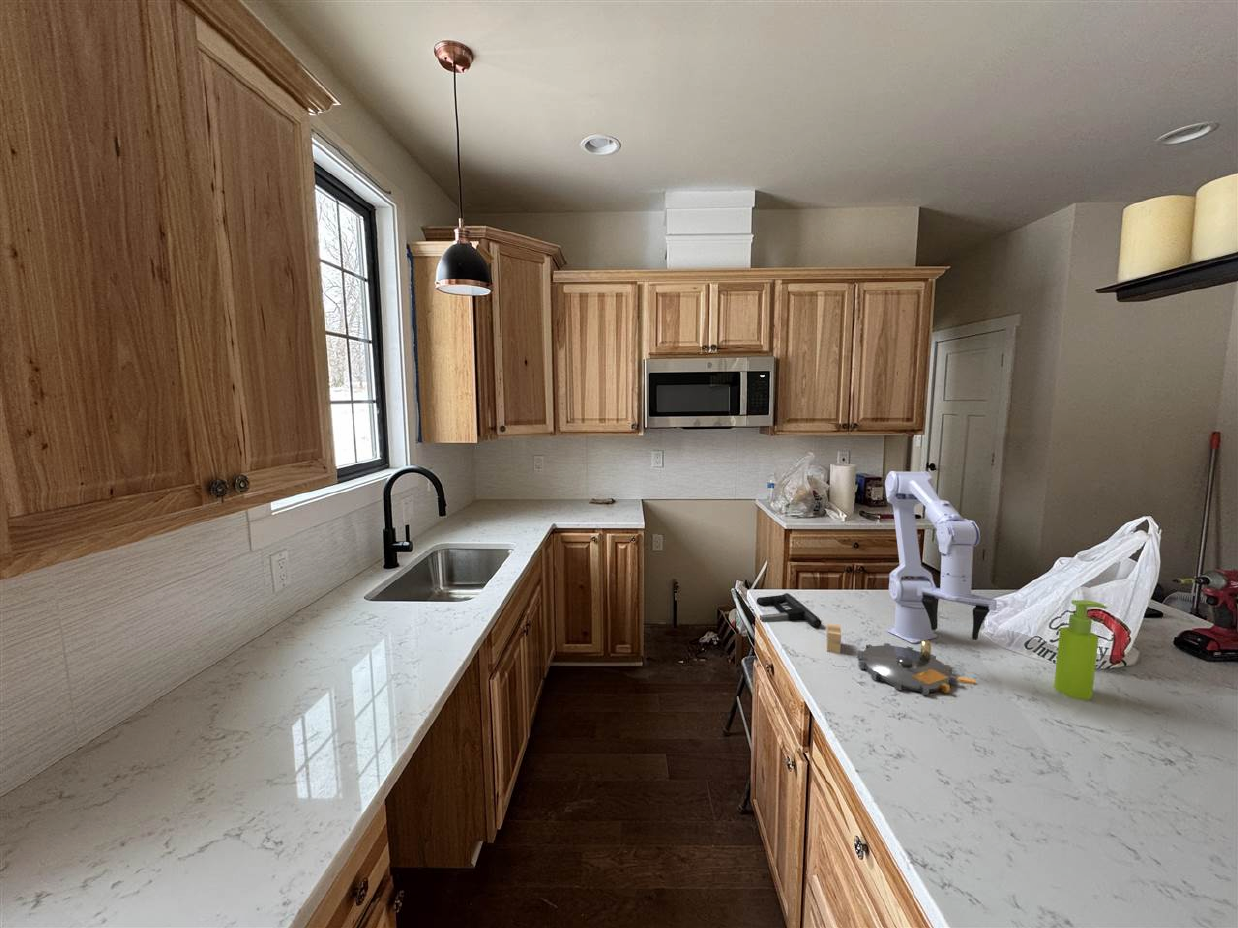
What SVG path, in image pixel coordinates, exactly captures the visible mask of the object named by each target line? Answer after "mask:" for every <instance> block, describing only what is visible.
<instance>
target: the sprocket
mask: <svg viewBox="0 0 1238 928" xmlns="http://www.w3.org/2000/svg"><path fill="white" fill-rule="evenodd" d="M931 652H932V641H931V640H929V639H928V640H921V643H920V651H918V650H915V649H914V647H913V646H912V647H911V646H906V647H902V646H897V645H891V644H890V643H885V642H884V644H883V645H882V644H881V645H872V644H865V649H864V650H860V649H858V650H857V652H856V658H857V659H858V665H857V667H858V668H859V669H861V670H865V671H866V672H868V674H870V678H871V679H872V680H874V681H882V682H884V683H886V684H888V685H891V686H894V689H895V690H898V691H902V689H904V690H908V691H911V692H912V691H914V692H920V693H921V695H923V696H929V695H930V693H935V692H941V693H944V694H949V693H950V690H951V686H950V685H953V686H956V687H957V682H958V676H955V675H952V674H953V667H952V666H951V665H949V664H944V663H942V662H941V661H939V660H938V659H936V658H937V656H936V655H934V654H932V653H931Z"/></svg>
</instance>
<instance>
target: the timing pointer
mask: <svg viewBox="0 0 1238 928" xmlns="http://www.w3.org/2000/svg"><path fill="white" fill-rule="evenodd" d="M957 682H959V683H963V684H969V685H976V681H975V679H972V678H965V677H960V676H957Z"/></svg>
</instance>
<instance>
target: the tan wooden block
mask: <svg viewBox="0 0 1238 928" xmlns="http://www.w3.org/2000/svg"><path fill="white" fill-rule="evenodd" d="M826 624H827V625H826V627H827V628H826V652H828V653H835V654H837V655H838V654H841V645H842V643H841V641H842V631H841V625H840V624H836V623H831V622H830V623H829V622H827V623H826Z"/></svg>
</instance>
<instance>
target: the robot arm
mask: <svg viewBox="0 0 1238 928" xmlns="http://www.w3.org/2000/svg"><path fill="white" fill-rule="evenodd" d="M885 478H886V479H885V482H884V487H885V488H884V490H885V496H886V501H887V503H889V504H891V505H892V510H893V517H894V526H895V527H894V529H895V536H896V543H897V544H896V545H897V552H898V561H899V565H898V566H897V567H896V568H894V569H893V570H892V571H891V572H890V573H889V583H888V592H889V595H890V598H891V599H892V600H893V601H894V602H895V607H894V625H893V627H891V628H886V629H885V630H886V632H887V633H889V634H892V635H893V636H896V637H898V638H900V639H901V640H904V641H907V642H909V643H911V644H916V643H920V642H921V640H928V641H929V640H931V639H936V638H937V637H938V635H937V634H935V631H936V630H937V629H938V626H939V625H938V624H939V621H938V612H939V611H938V610H939V609H938V608H939V602H940V600H943V601H947V602H953V603H958V604H963V605H967V606H972V607H973V606H974V608H972V631H971V640H973V641H978V638H979V633H980V629H981V627H982V626H983V623H984V620H985V619H986V617H987V616H988V614H989V612H990V611H996V610H997V603H998V602H997V599H994V598H989V597H985V596H981V595H979V594H978V595H976V594H974V593H972V582H973V581H972V579H973V555H974V554H973V552H974V547H977V545H979V543H980V540H981V539H980V538H981V533H980V529H979V526H978V525H977V524H976V522H975V521H974V520H968V519H967V518H963V517H962V516H961V514H960V513H959V512H958V511H957V510H956V509H955V507H954V506H953V505H952V504H951V503H950V502H949V500H944V499H941V498H940V496H939V495H938V494H937V492H936V490H935V489H934V486H933V485H934V480H933V476H932V475H931V474H930V473H929V472H928V471H926V470H924V471H895V470H890V471H889V472H888V474H886V477H885ZM919 504H922V505H923V506H924V507H925V510H924V511H925V513H924V514H925V516H926V518H928V520H929V521H930V522H931V524H932V525H933V527H934V528H935V529H936V532H935V534H936V539H937V542H938V551H939V552H940V555H941V559H940V560H941V561H940V562H941V564H940V583H939V584H940V587H937V586H936V584H935V581H934V577H933V574H932V572H930V571H929V570H927V569H926V568H924V567H923V566H922V561H921V555H920V545H919V537H918V529H917V522H916V521H917V520H916V515H915V507H916V505H919Z"/></svg>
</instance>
